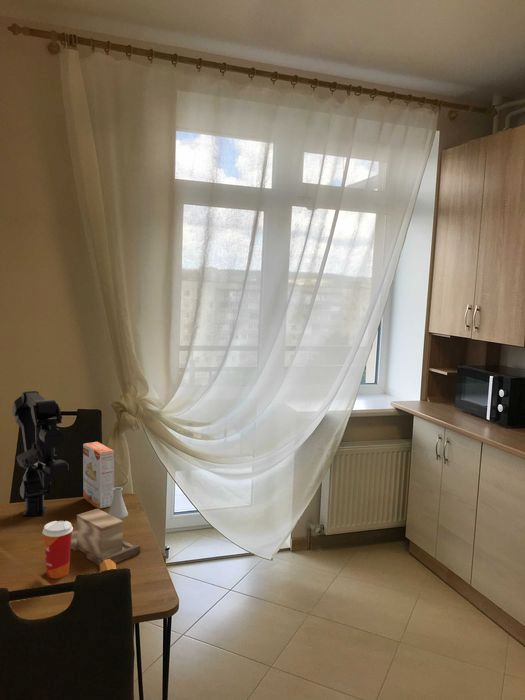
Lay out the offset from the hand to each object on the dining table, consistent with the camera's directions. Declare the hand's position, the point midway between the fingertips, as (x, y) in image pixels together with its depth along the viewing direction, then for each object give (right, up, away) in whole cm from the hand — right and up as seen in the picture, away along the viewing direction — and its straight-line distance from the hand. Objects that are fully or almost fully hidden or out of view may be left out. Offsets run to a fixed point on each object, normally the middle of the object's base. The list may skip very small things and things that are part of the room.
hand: (45, 487), depth 178 cm
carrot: (+31, -18, -34) cm, 49 cm away
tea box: (+21, -15, -13) cm, 29 cm away
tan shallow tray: (+20, -15, -12) cm, 27 cm away
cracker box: (+10, -11, +22) cm, 27 cm away
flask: (+20, -13, +11) cm, 26 cm away
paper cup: (+14, -17, -28) cm, 36 cm away
